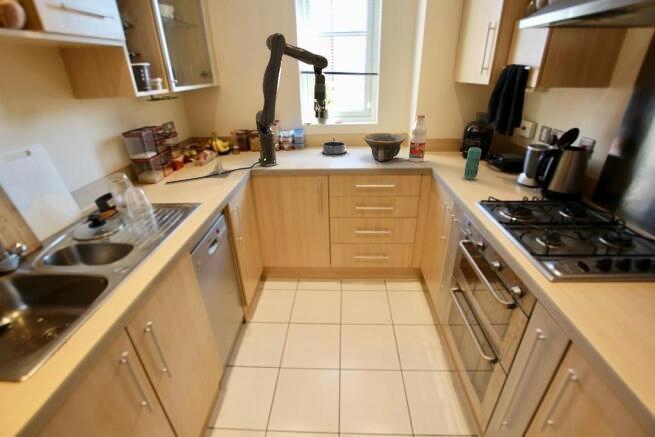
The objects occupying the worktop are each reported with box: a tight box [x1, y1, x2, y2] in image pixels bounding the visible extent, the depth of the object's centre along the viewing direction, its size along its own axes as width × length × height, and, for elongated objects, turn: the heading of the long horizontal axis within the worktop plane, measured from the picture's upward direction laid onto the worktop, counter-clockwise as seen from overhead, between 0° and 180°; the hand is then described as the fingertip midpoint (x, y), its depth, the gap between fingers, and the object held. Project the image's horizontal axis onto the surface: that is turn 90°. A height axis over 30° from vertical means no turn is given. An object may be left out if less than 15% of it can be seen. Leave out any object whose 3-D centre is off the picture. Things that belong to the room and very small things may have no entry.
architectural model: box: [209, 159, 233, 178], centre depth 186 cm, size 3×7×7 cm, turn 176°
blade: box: [331, 136, 337, 146], centre depth 228 cm, size 3×5×10 cm, turn 9°
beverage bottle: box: [463, 140, 483, 179], centre depth 164 cm, size 6×7×20 cm
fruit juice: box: [408, 114, 428, 163], centre depth 199 cm, size 9×9×28 cm
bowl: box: [363, 132, 406, 162], centre depth 207 cm, size 27×26×15 cm
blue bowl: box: [322, 141, 347, 155], centre depth 229 cm, size 17×17×6 cm
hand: (319, 117), depth 208 cm, fingers open, 8 cm apart
